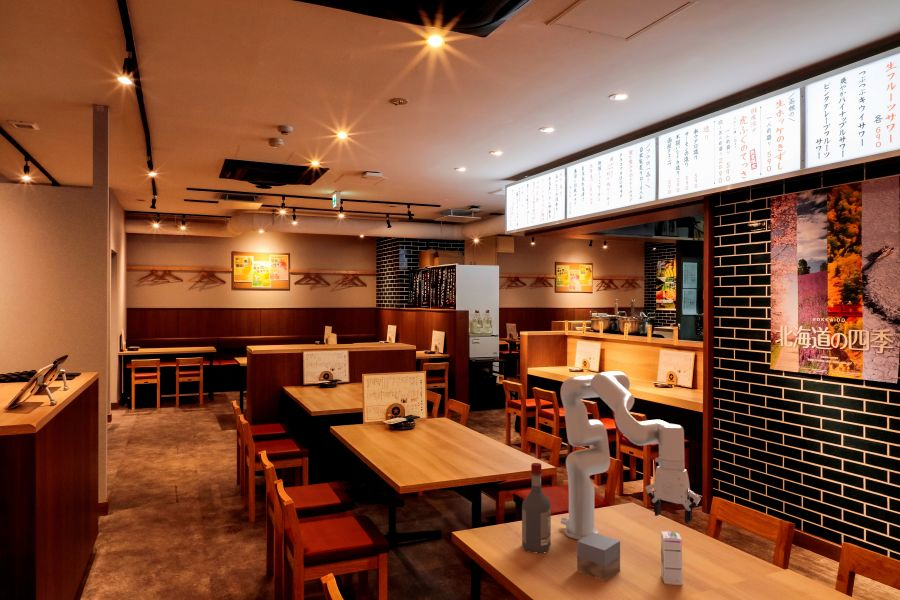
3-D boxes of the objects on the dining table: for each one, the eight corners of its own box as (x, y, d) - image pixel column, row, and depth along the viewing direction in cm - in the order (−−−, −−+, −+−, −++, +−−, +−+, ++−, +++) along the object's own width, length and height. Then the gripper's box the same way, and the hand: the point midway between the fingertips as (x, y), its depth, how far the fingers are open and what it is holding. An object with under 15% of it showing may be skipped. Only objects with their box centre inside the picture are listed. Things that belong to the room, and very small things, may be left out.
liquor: (520, 550, 205) (520, 466, 205) (527, 541, 214) (527, 459, 214) (546, 555, 202) (546, 469, 202) (551, 545, 210) (551, 462, 210)
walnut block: (577, 571, 190) (577, 556, 190) (593, 561, 198) (593, 546, 198) (604, 581, 183) (604, 565, 183) (620, 571, 190) (620, 555, 190)
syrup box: (683, 585, 180) (683, 539, 180) (663, 583, 181) (663, 537, 181) (679, 577, 186) (679, 531, 186) (660, 575, 187) (660, 530, 187)
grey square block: (577, 556, 190) (577, 541, 190) (593, 547, 197) (593, 532, 197) (604, 566, 183) (604, 550, 183) (620, 556, 190) (620, 540, 190)
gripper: (640, 461, 187) (641, 515, 187) (694, 471, 175) (695, 528, 174) (650, 457, 192) (651, 509, 192) (704, 466, 180) (705, 522, 180)
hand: (672, 518), depth 183 cm, fingers open, 9 cm apart
